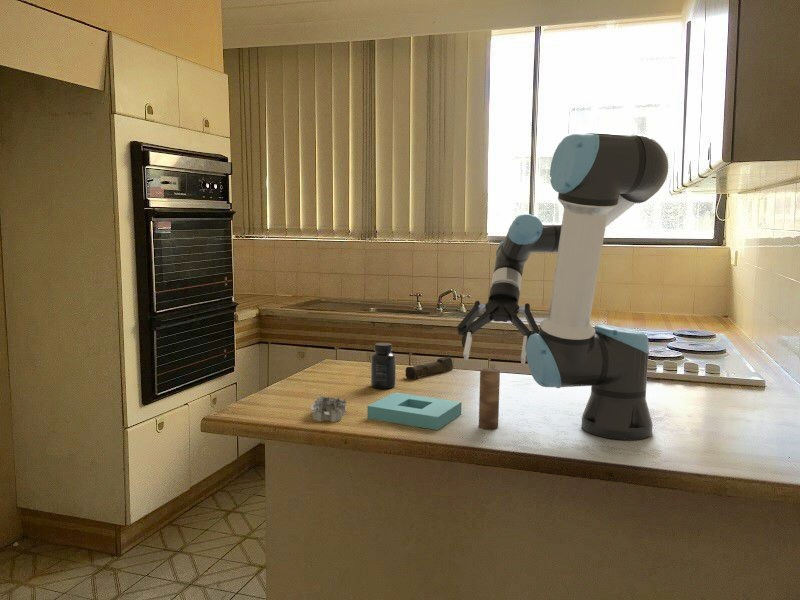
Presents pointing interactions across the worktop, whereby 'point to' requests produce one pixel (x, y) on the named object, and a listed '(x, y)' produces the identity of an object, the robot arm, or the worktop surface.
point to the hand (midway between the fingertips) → (493, 359)
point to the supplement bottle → (383, 366)
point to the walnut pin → (489, 398)
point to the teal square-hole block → (414, 410)
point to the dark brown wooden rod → (430, 368)
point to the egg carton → (328, 409)
